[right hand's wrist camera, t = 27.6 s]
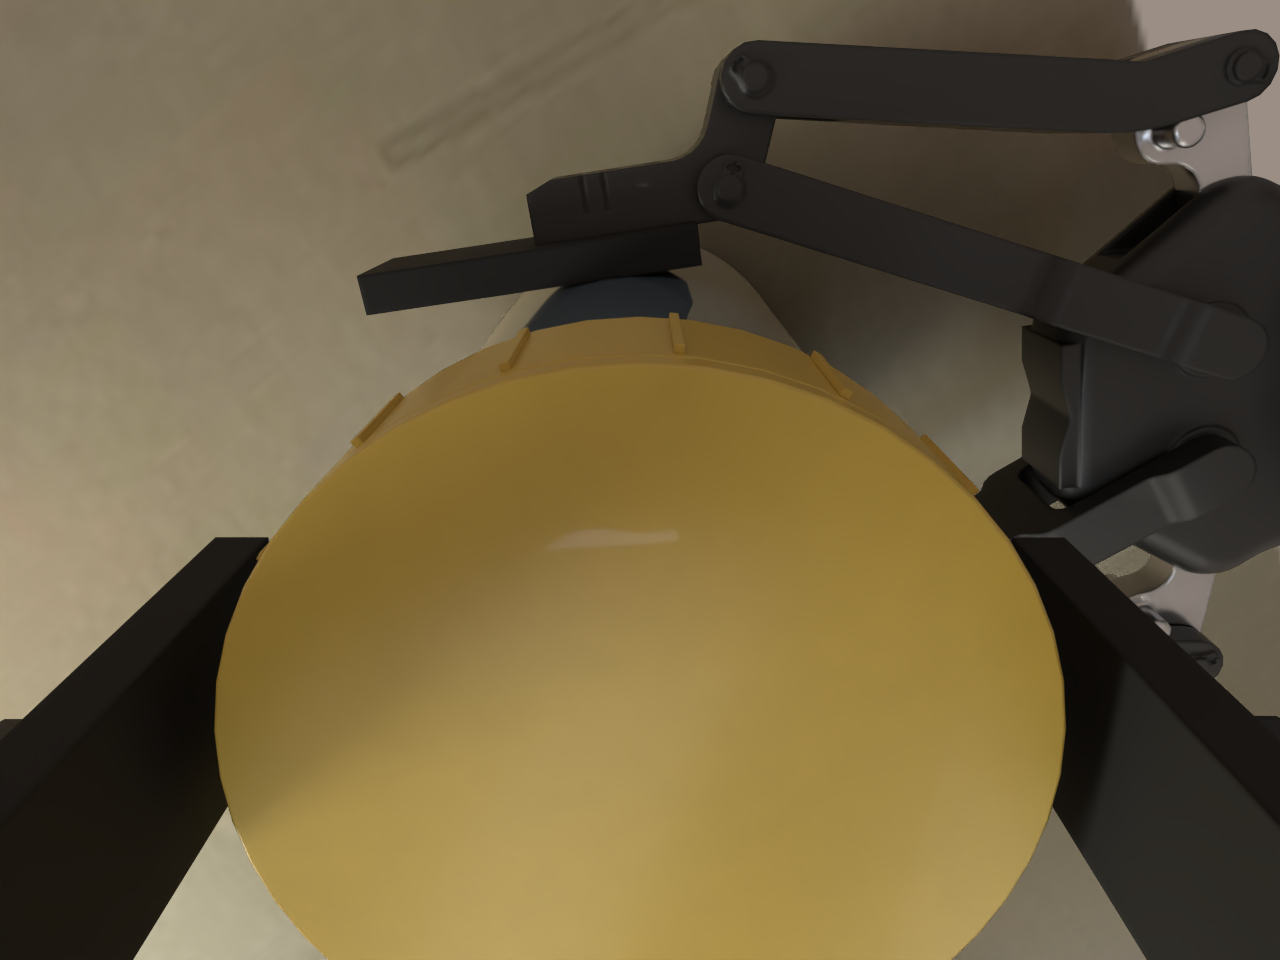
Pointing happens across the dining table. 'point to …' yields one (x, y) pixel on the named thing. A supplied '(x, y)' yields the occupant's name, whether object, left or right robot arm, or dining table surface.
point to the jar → (650, 302)
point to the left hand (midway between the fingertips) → (431, 490)
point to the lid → (640, 669)
